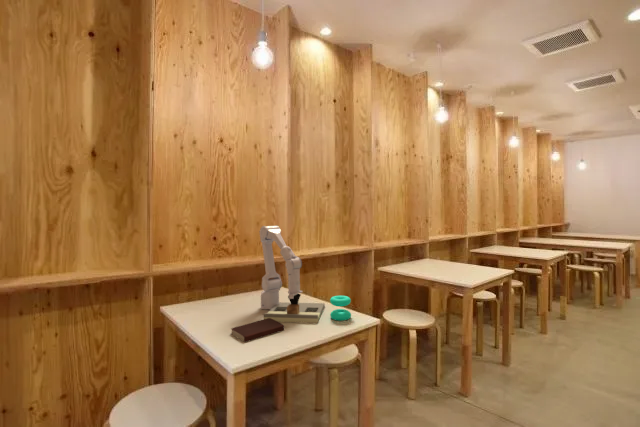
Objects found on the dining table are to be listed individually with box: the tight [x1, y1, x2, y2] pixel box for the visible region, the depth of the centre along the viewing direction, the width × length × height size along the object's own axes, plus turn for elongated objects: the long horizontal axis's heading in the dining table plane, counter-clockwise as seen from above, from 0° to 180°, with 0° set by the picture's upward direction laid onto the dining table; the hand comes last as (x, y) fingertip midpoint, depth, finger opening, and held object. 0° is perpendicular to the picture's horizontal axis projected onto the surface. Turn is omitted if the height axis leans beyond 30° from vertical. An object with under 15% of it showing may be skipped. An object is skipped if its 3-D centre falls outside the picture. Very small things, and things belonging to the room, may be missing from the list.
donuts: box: [329, 295, 352, 322], centre depth 162 cm, size 10×10×10 cm
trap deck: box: [262, 301, 326, 324], centre depth 170 cm, size 26×25×4 cm
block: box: [287, 304, 299, 314], centre depth 163 cm, size 5×5×4 cm
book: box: [230, 318, 285, 343], centre depth 145 cm, size 12×19×3 cm, turn 130°
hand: (294, 309), depth 167 cm, fingers closed
